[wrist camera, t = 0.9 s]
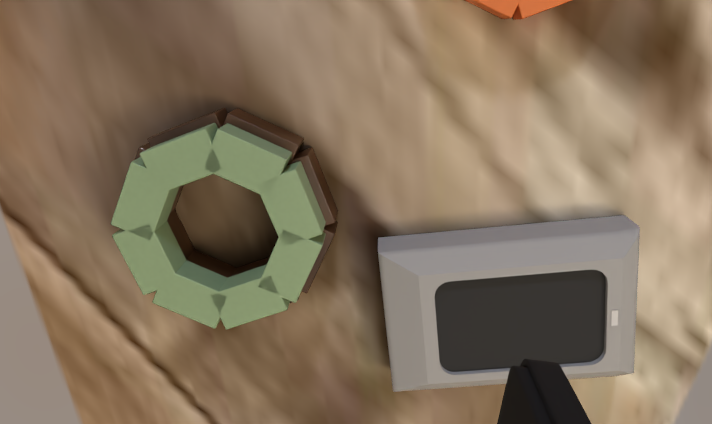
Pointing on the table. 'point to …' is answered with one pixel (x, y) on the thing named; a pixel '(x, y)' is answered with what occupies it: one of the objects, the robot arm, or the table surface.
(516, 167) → the table surface
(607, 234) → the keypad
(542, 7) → the terracotta ring
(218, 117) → the walnut ring
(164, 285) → the green ring
